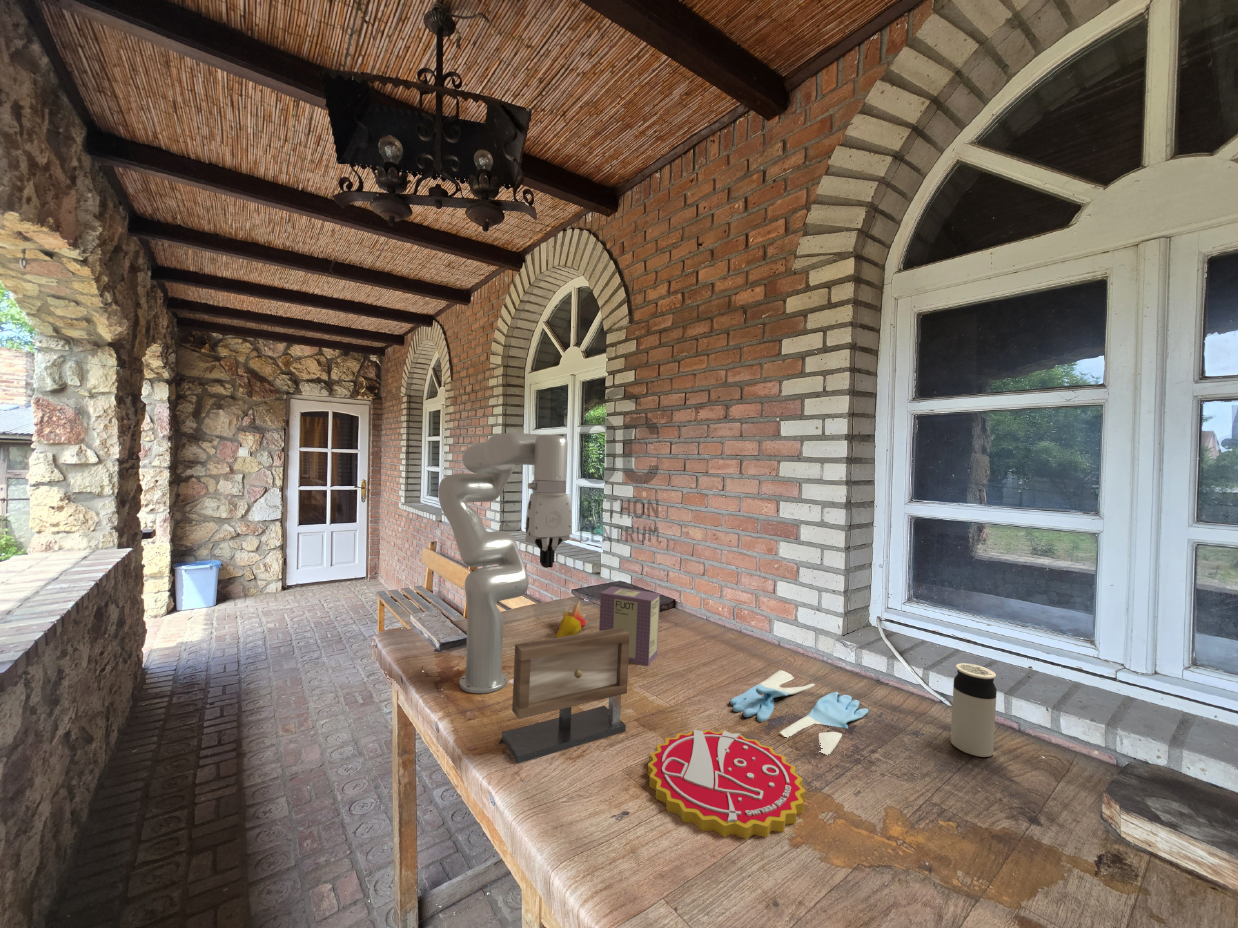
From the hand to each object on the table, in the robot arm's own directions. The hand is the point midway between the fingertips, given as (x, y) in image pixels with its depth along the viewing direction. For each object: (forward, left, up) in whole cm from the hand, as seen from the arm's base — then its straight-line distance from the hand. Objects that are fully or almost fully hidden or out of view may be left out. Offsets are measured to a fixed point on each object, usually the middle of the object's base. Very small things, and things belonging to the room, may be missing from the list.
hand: (546, 566), depth 117 cm
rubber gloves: (+23, +62, -38) cm, 76 cm away
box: (-25, +40, -37) cm, 60 cm away
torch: (-48, +30, -37) cm, 68 cm away
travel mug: (+54, +83, -37) cm, 106 cm away
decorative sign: (+36, +24, -38) cm, 57 cm away
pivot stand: (+7, +3, -37) cm, 38 cm away
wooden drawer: (+10, +3, -28) cm, 30 cm away
